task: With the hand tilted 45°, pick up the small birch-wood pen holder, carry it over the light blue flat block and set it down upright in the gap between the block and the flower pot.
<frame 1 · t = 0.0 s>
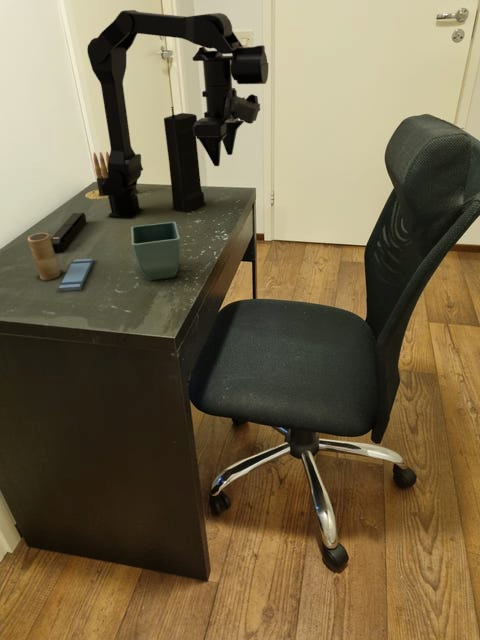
hand: (223, 160, 107), 15 cm above the table, tool pointing down, fingers open, 9 cm apart
flower pot: (161, 274, 94), on the table
black rectangular bar: (70, 237, 112), on the table
portable radio: (189, 206, 125), on the table
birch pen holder: (50, 275, 96), on the table
ammunition clip: (118, 194, 137), on the table
light blue flat block: (77, 275, 95), on the table
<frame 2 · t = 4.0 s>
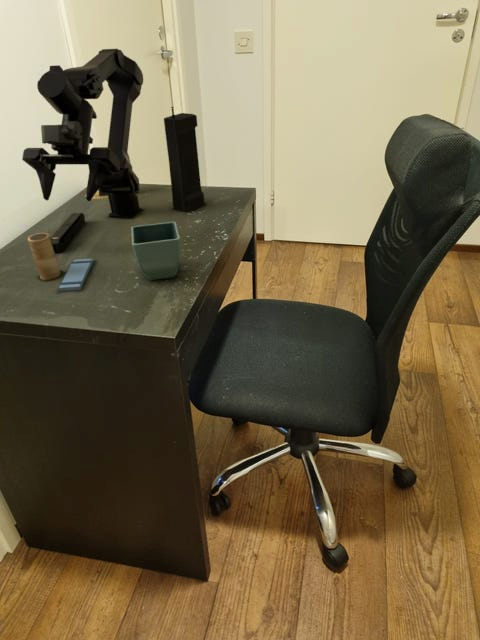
hand: (66, 199, 94), 13 cm above the table, tool tilted 40°, fingers open, 9 cm apart
nothing on the table moved.
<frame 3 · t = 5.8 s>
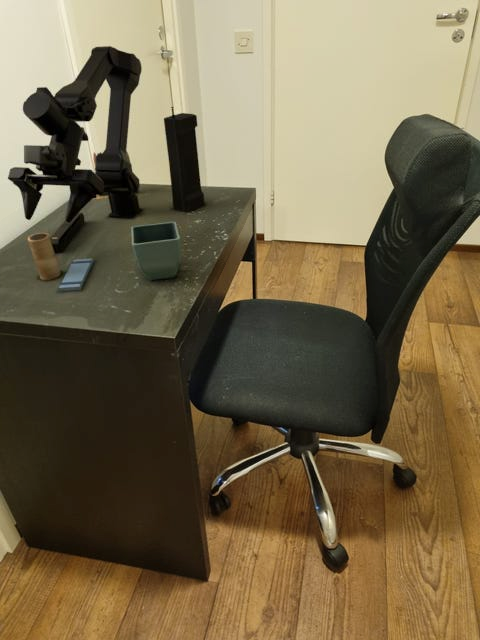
hand: (47, 220, 93), 10 cm above the table, tool tilted 45°, fingers open, 9 cm apart
nothing on the table moved.
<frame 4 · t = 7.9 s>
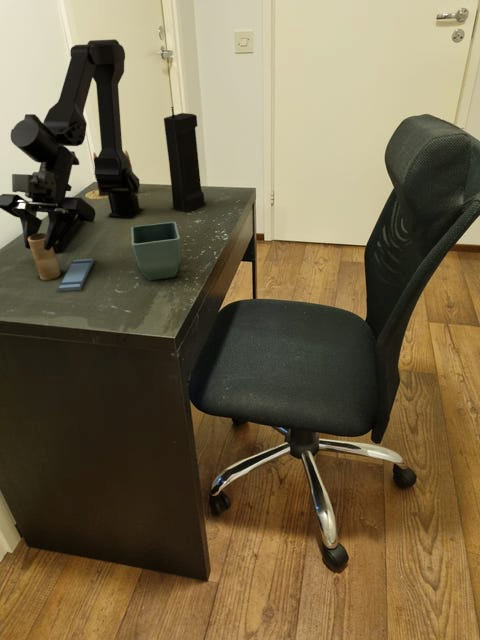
hand: (36, 249, 91), 7 cm above the table, tool tilted 45°, fingers closed on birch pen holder, 4 cm apart
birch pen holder: (50, 275, 96), on the table, touching gripper
everything else where it was.
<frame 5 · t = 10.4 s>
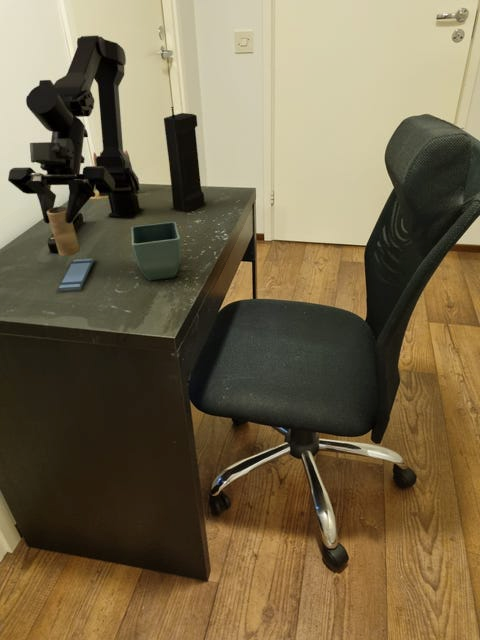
hand: (57, 222, 87), 12 cm above the table, tool tilted 45°, fingers closed on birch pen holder, 4 cm apart
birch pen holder: (69, 251, 92), point 5 cm above the table, touching gripper
everything else where it was.
when the fingers open (7 cm above the table, at t = 13.3 s): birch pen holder stays where it is, on the table.
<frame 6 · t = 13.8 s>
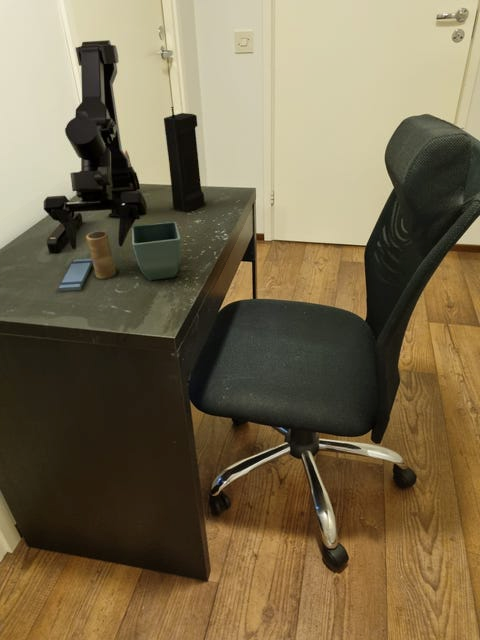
hand: (97, 247, 90), 7 cm above the table, tool tilted 45°, fingers open, 9 cm apart
flower pot: (161, 274, 94), on the table, touching gripper
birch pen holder: (106, 273, 95), on the table
everything else where it was.
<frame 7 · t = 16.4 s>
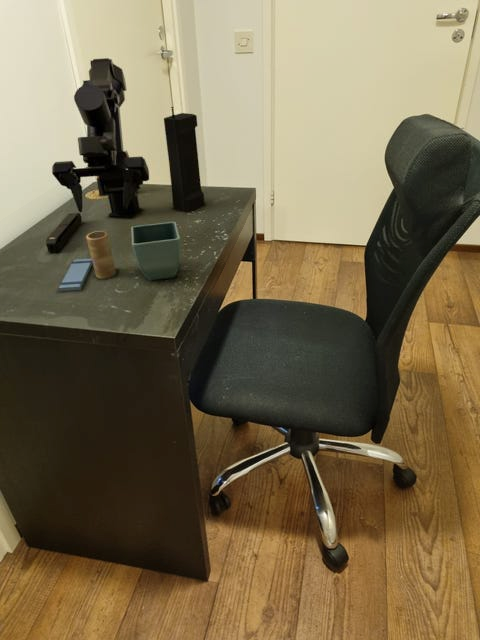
hand: (102, 209, 96), 11 cm above the table, tool tilted 45°, fingers open, 9 cm apart
flower pot: (161, 274, 94), on the table
everything else where it was.
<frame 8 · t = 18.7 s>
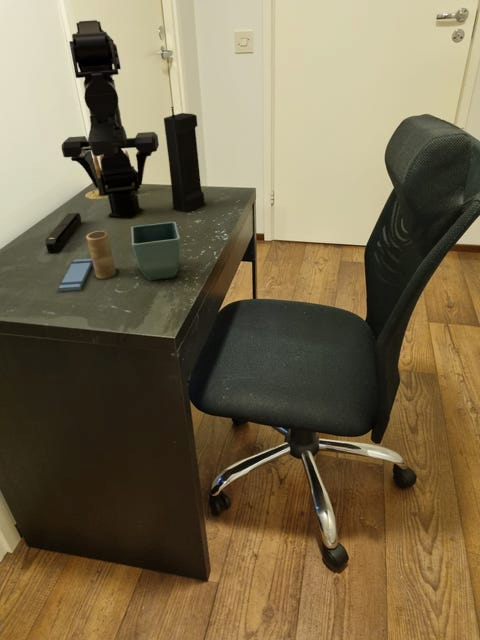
hand: (119, 186, 100), 13 cm above the table, tool pointing down, fingers open, 9 cm apart
at the end: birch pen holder inside the target area (0.9 cm from its centre), on the table; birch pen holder tilted 0°; the gripper is holding nothing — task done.
